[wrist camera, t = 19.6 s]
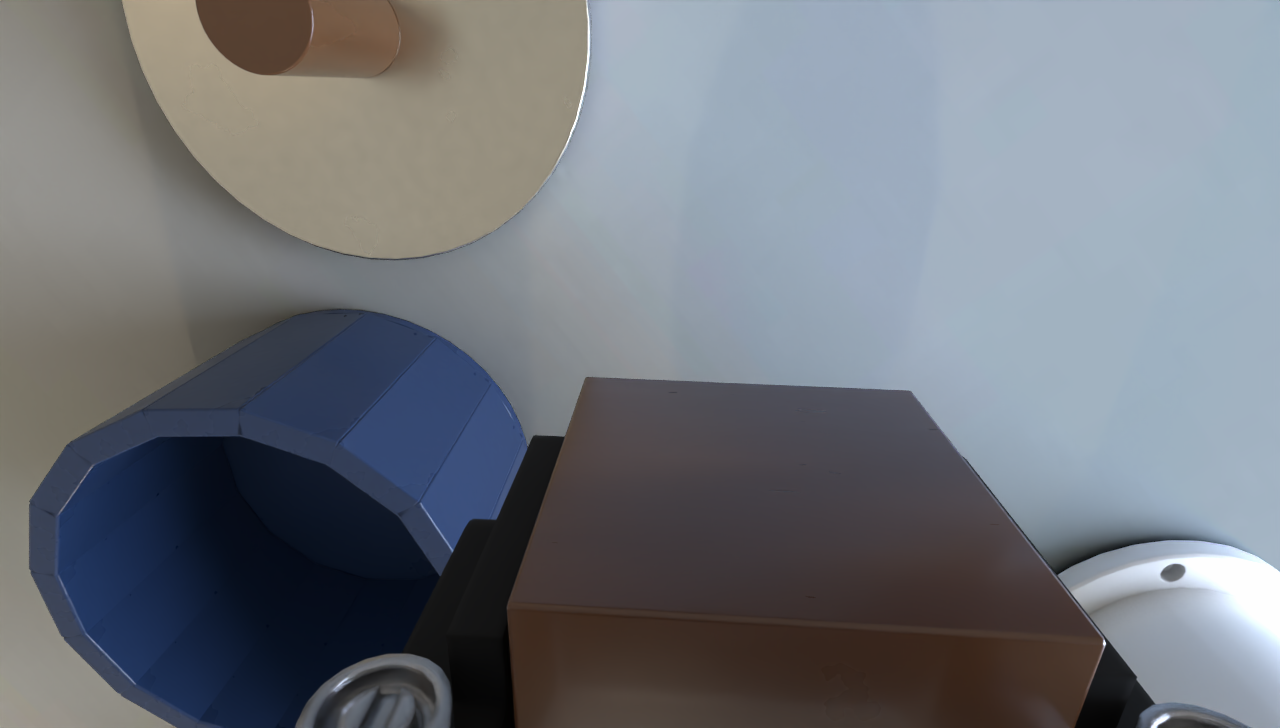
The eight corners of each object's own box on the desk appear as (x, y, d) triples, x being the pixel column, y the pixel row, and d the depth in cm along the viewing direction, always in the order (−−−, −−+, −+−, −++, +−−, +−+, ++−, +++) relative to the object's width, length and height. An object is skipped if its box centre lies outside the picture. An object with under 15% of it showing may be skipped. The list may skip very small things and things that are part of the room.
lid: (661, -129, 18) (657, -228, 12) (520, 308, 23) (472, 380, 18) (166, -351, 17) (-95, -578, 11) (133, 165, 22) (-57, 192, 16)
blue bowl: (572, 379, 24) (530, 507, 17) (483, 620, 29) (419, 801, 22) (233, 257, 23) (27, 338, 16) (198, 530, 28) (27, 690, 20)
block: (911, 389, 9) (1111, 641, 5) (862, 641, 11) (978, 988, 7) (584, 375, 9) (504, 605, 5) (587, 624, 11) (530, 950, 7)
